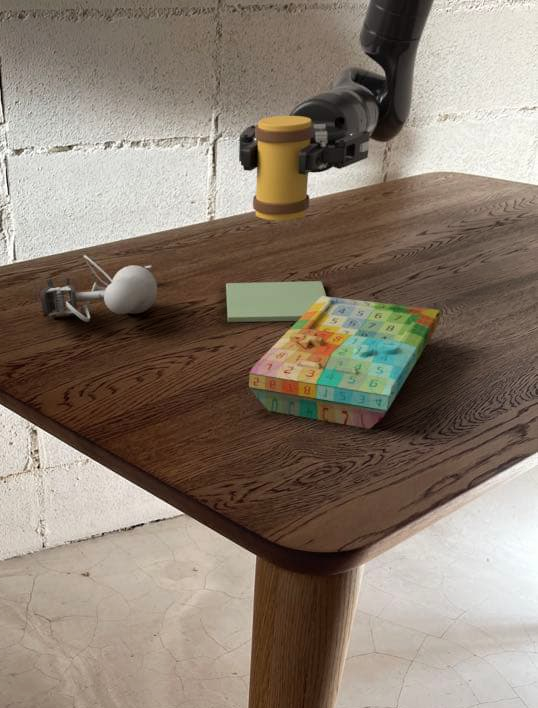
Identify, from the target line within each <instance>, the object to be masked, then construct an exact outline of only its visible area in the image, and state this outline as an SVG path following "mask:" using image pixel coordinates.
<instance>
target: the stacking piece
mask: <svg viewBox="0 0 538 708" xmlns="http://www.w3.org/2000/svg"><path fill="white" fill-rule="evenodd" d="M257 122H258V124H257V125H255V126H256V127H255V138H256V139H257V140H258V153H257V167H256V189H255V195H254V196H253V197H252V208H253V210H254V211H255V216H256V217H258V218H259V219H261V220H267V221H278V222H279V221H292V220H297V219H300V218H303V217H305V215H306V213H307V210H308V209H309V207H310V195H309V194H308V180H309V173H308V174H306V175H305V174H299V173H298V168H299V154H300V151H301V150H302V149H304V148H305V147H307V146H309V145H310V139H311V138H312V137H313V136H314V125H313V124H312V123H311V119H310V118H307V117H302V116H289V115H273V116H268V117H264V118H261V119H259V120H258V121H257Z"/></svg>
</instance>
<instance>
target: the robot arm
mask: <svg viewBox="0 0 538 708" xmlns="http://www.w3.org/2000/svg"><path fill="white" fill-rule="evenodd" d="M434 2H435V0H369V2H368V6H367V9H366V13H365V16H364V19H363V23H362V26H361V29H360V33H359V39H358V44H359V48H360V50H361V51H362V52H363V53H364V54H365V55H366V57H368V58H369V59H370V60H372V61H374V63H376V64H378V65H379V66H380V67H381V69H382V70H383V72H384V75H383V74H380V73H378V72H374V71H372V70H369V69H367V68H363V67H361V66H353V65H352V66H346V67H344V68H343V69H341V70H340V71H339V72H338V74H337V75H336V76H335V77H334V79H333V81H332V84H330V88H329V89H328V90H325V91H321V92H320V93H318V94H316V95H314V96H312V97H310V98H308V99H306V100H304V101H302V102H301V103H299V104H298V105H296V107H295V106H294V108H293V109H292V111H291V112H290V113H289V115H288V116H302V117H307V118H310V119H311V123H312V124H313V125H314V136H313V137H312V138H311V139H310V145H309V146H307V147H305V148H304V149H302V150H301V151H300V154H299V168H298V173H299V174H305V175H306V174H308V175H309V174H310V173H313V174H315V173H323V172H326V171H328V170H330V169H332V168H335V169H338V170H341V169H343V168H346V167H348V166H351V165H353V164H355V163H358V162H361V161H363V160H365V159H368V158H369V149H370V140H372V141H375V142H378V143H379V142H380V143H387V142H391V140H393V139H395V138H396V137H397V136H398V135H400V133H402V131H403V129H404V128H405V126H406V125H407V122H408V119H409V118H410V117H409V116H410V114H411V110H412V109H411V108H412V102H413V90H414V76H415V75H414V74H415V66H416V59H417V54H418V49H419V46H420V42H421V40H422V36H423V33H424V30H425V27H426V25H427V22H428V20H429V16H430V13H431V10H432V7H433V5H434ZM256 126H257V125H255V124H254V125H250V126H247V127H246V128H245V129H244V130H243V132H242V133H241V134H240V135H239V139H238V140H239V141H238V143H239V146H238V148H239V149H238V161H239V162H240V166H241V167H242V166H243V167H242V168H243V171H250V172H251V171H253V170H255V169H257V153H258V140H257V139H256V138H255V127H256Z"/></svg>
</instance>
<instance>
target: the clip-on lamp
mask: <svg viewBox="0 0 538 708" xmlns="http://www.w3.org/2000/svg"><path fill="white" fill-rule="evenodd" d="M83 259H84V260H85V263H86V264H87V265H88V267H89V269H90V270H91V271H92V273H93V274H94V275H95V277H96V278H97V279H98V280H99V281H100V282H101V283H102V284H103V285H105V286H107V287H102V286H100V285H98V284H97V282H94V283H93V286H92V289H91V291H83V292H76V288H75V287H74V286H72V284H71V281H70V279H71V278H70V276H69V275H66V276H65V285H66V286H62V287H61V286H58V287H54V286H53V279H52V277H48V278H46V281H47V286H46V288H44V289H43V290H41V291H40V300H41V307H42V315H43V317H44V318H46V317H50V316H51V318H52V319H56V318H57V315H64V314H69V316H70V317H74V316H76V317H78V318H79V319H80V320H82V321H83V322H85V323H88V322H90V320H91V315H90V311H89V309H88V307H89V305H90V303H91V302H92V301H104V304H105V306H106V307H107V309H109V311H111V312H112V313H114V314H116V315H125V314H133V315H136V314H141V313H144V312H146V311H147V310H148V309H150V308H151V307H152V306H153V304H154V303H155V301H156V298H157V295H158V283H157V281H156V278H155V277H154V275H153V273H152V272H151V271H149V270H150V269H153V265H152V264H150V265H145V266H144V265H134V264H131V265H128V266H124V267H123V268H121V269H119V270H118V271H117V272H116V273H115V275H114V276H113V277H111V276H109V274H108V273H107V272H105V270H103V269H102V267H100V266H99V265H98V264H97V263H96V262H94V261H93V260H92V259H91V258H89V256H87V255H86V254H84V255H83ZM92 265H93V266H94V267H95V268H96V269H97V270H98V271H100V272H101V274H103V275H104V276H105V278H107V279H108V280H109V281H110V284H109V283H107V282H105V281H104V280H103V279H102V278H101V277H100V276H99V274H98V273H97V271H95V269H94V268H93V267H92ZM148 269H149V270H148ZM64 291H66V292H67V294H66V295H67V300H66V301H65V296H64V295H65V293H64ZM79 302H86V303H85V304H83V305H82V306H81V308H80V311H79V310H78V304H77V303H79ZM65 307H66V309H65ZM82 313H85V315H86V316H85V315H84V314H82Z"/></svg>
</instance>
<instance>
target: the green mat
mask: <svg viewBox="0 0 538 708" xmlns="http://www.w3.org/2000/svg"><path fill="white" fill-rule="evenodd" d="M225 293H226V311H227V313H226V315H227V323H257V322H258V323H264V322H297V321H298V320H299V319H300V318H301V317H302V316H303V315H304V314H305V313H306V312H307V311H308V310H309V309H310V308H311V307H312V306H313V305H314V304H315V303H316V302H317V300H318V299H319V298H320V297H321V296H326V297H327V293H326V291H325V287H324V285H323V282H322V281H321V280H316V281H313V280H311V281H310V280H309V281H308V280H307V281H269V282H266V281H265V282H264V281H263V282H229V283H228V282H226V284H225Z"/></svg>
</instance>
